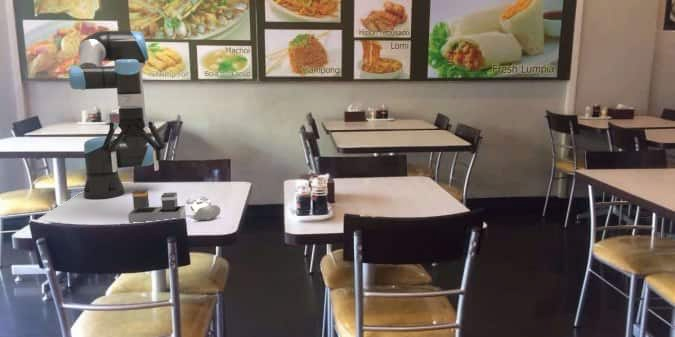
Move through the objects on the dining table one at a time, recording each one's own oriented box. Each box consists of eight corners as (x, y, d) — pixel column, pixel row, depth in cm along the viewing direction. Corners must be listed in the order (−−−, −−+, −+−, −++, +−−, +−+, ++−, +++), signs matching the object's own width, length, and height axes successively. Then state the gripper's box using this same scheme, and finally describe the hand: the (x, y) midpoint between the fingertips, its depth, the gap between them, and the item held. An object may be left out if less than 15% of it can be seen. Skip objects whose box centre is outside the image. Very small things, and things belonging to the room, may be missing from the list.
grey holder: (136, 222, 187) (134, 192, 185) (186, 220, 188) (184, 190, 187) (129, 229, 179) (127, 198, 178) (181, 227, 181) (179, 196, 179)
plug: (137, 215, 196) (135, 189, 195) (150, 214, 197) (148, 189, 195) (134, 218, 192) (132, 192, 191) (147, 217, 193) (144, 191, 191)
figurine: (195, 210, 184) (182, 197, 193) (196, 228, 186) (183, 214, 195) (222, 204, 189) (208, 192, 198) (223, 221, 191) (209, 208, 200)
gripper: (87, 108, 183) (93, 174, 186) (166, 106, 184) (171, 171, 188) (95, 107, 190) (101, 169, 194) (171, 105, 192) (176, 167, 195)
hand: (135, 170), depth 191 cm, fingers open, 13 cm apart
